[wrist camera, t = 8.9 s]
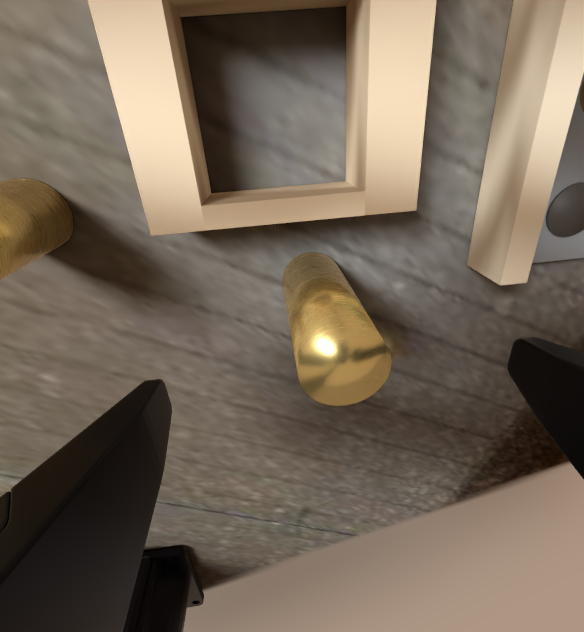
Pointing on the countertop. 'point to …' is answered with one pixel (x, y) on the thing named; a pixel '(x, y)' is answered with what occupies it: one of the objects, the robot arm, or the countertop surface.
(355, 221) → the countertop surface
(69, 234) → the pin
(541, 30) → the housing
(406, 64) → the socket board
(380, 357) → the pin
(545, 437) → the countertop surface
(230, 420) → the countertop surface
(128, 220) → the countertop surface
